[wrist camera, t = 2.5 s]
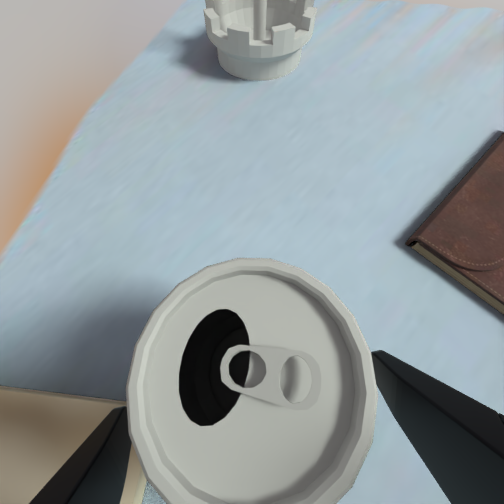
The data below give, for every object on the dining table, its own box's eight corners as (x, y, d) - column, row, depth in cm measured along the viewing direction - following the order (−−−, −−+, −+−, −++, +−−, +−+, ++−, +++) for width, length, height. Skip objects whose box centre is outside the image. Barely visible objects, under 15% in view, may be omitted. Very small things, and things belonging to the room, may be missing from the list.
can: (212, 306, 19) (157, 218, 8) (312, 325, 18) (400, 256, 7) (182, 423, 16) (22, 542, 5) (302, 451, 15) (431, 661, 4)
